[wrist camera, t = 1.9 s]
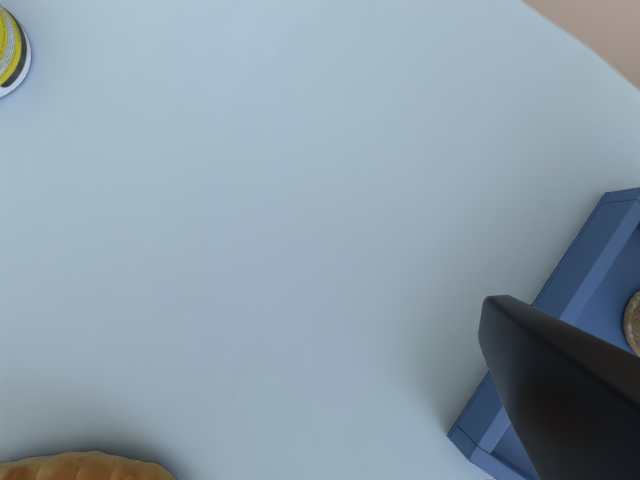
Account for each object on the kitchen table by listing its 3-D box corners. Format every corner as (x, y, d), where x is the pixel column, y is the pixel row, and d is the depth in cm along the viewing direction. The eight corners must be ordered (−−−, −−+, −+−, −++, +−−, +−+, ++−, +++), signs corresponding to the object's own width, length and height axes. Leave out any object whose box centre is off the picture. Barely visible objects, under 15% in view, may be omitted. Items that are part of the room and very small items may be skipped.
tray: (634, 563, 26) (677, 601, 23) (446, 435, 25) (467, 460, 22) (782, 322, 27) (840, 331, 24) (605, 192, 26) (644, 185, 23)
